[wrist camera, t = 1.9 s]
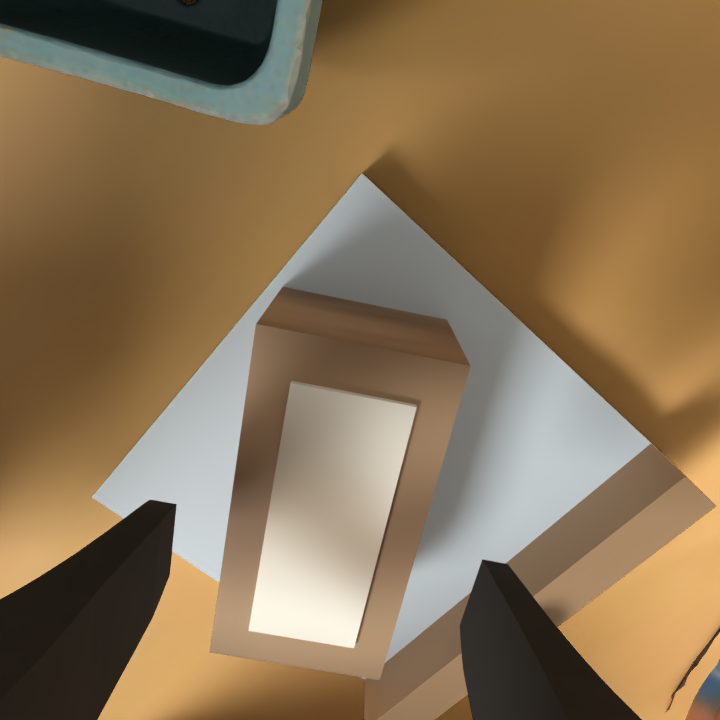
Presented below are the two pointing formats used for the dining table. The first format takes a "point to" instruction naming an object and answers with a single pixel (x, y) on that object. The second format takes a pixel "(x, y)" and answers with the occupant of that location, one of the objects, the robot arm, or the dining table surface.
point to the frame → (333, 479)
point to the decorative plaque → (705, 692)
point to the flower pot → (175, 49)
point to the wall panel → (461, 461)
